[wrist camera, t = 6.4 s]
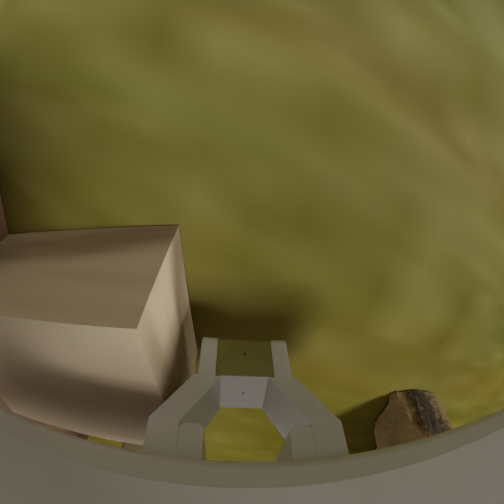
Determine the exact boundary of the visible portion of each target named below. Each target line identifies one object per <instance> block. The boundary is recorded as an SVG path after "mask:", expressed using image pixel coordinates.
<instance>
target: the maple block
mask: <svg viewBox="0 0 504 504" xmlns="http://www.w3.org/2000/svg"><path fill="white" fill-rule="evenodd" d="M196 356H197V345H196V339H195V334H194V328H193V322H192V316H191V310H190V303H189V297H188V290H187V284H186V277H185V269H184V262H183V254H182V247H181V238H180V230H179V225H167V226H140V227H117V228H97V229H78V230H61V231H46V232H31V233H17V234H9V235H8V236H6V237H5V238H4V239H3V240H2V241H0V397H1V398H2V399H3V401H4V402H5V403H6V404H7V405H8V406H9V408H10V409H11V410H12V411H13V412H15V413H17V414H20V415H23V416H25V417H28V418H31V419H34V420H37V421H40V422H43V423H46V424H49V425H53V426H56V427H59V428H63V429H66V430H70V431H74V432H78V433H82V434H86V435H90V436H94V437H99V438H104V439H109V440H114V441H119V442H125V443H131V444H137V445H143V443H144V438H145V432H146V428H147V423H148V418H149V416H150V415H151V414H152V413H153V412H154V411H155V410H156V409H158V408H159V407H160V406H161V405H162V404H163V403H164V402H165V401H166V400H167V399H168V398H169V397H170V396H171V395H172V394H173V393H174V392H175V391H176V390H178V389H179V388H180V387H181V386H182V385H183V384H184V383H185V382H186V381H187V380H188V379H189V378H190V377H191V376H192V375H193V374H194V371H195V363H196Z"/></svg>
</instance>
